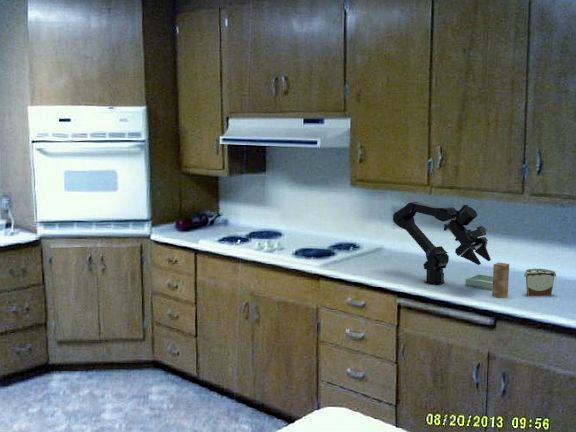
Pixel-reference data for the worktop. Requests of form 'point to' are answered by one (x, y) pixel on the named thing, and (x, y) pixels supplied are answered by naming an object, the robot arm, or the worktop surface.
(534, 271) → the food container
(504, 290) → the walnut post
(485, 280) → the tray
